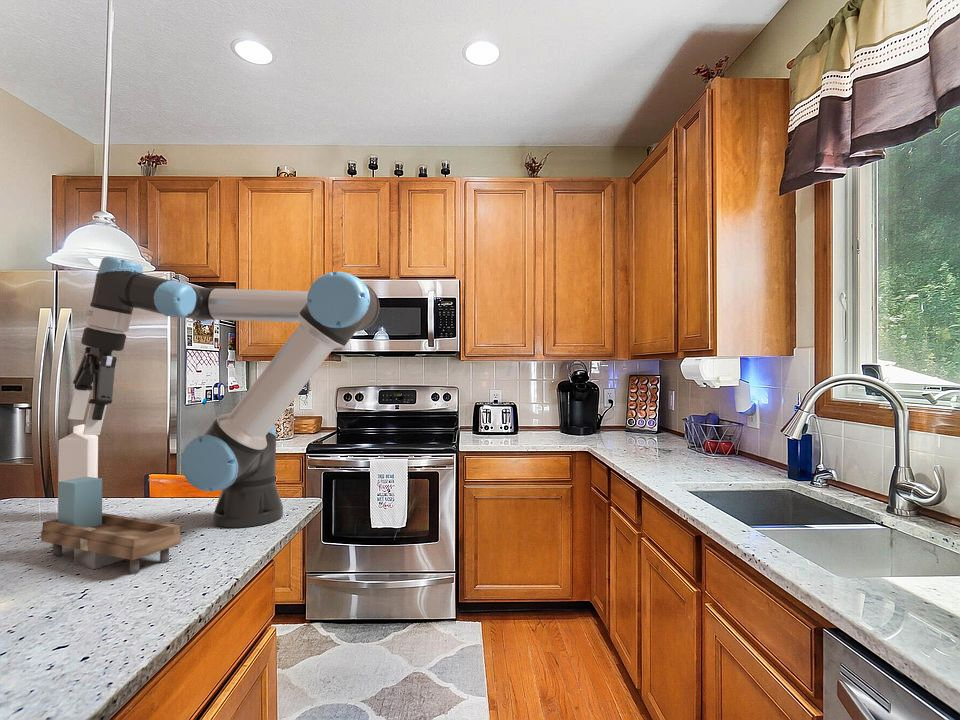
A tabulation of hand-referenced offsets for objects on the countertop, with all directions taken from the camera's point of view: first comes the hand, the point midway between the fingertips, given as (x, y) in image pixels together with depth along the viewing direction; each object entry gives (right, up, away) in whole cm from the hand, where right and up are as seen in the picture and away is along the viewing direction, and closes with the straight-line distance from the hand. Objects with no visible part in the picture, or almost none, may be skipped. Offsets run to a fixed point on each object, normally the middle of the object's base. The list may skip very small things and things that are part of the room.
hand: (83, 426), depth 112 cm
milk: (-13, -24, +15) cm, 31 cm away
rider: (+7, -18, -10) cm, 22 cm away
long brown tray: (+15, -23, -13) cm, 31 cm away
